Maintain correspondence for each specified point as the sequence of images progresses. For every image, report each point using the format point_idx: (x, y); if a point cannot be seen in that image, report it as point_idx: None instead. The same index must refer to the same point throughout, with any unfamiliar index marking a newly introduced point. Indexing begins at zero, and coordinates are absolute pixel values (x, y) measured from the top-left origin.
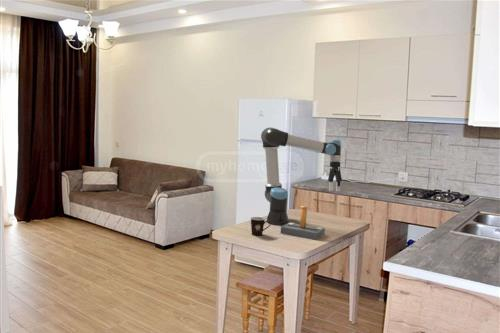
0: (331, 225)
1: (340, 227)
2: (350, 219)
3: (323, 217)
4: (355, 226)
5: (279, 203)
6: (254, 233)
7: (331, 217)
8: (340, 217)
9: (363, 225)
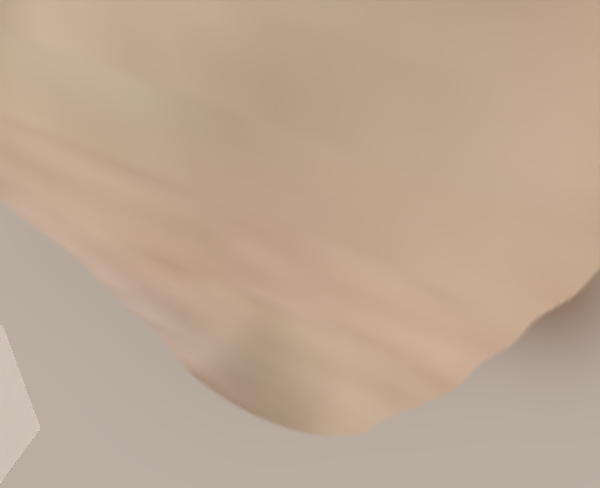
0: (114, 15)
1: (55, 100)
2: (434, 359)
3: (565, 28)
4: (134, 276)
5: None
6: None
7: (556, 161)
8: (547, 286)
9: (188, 366)
